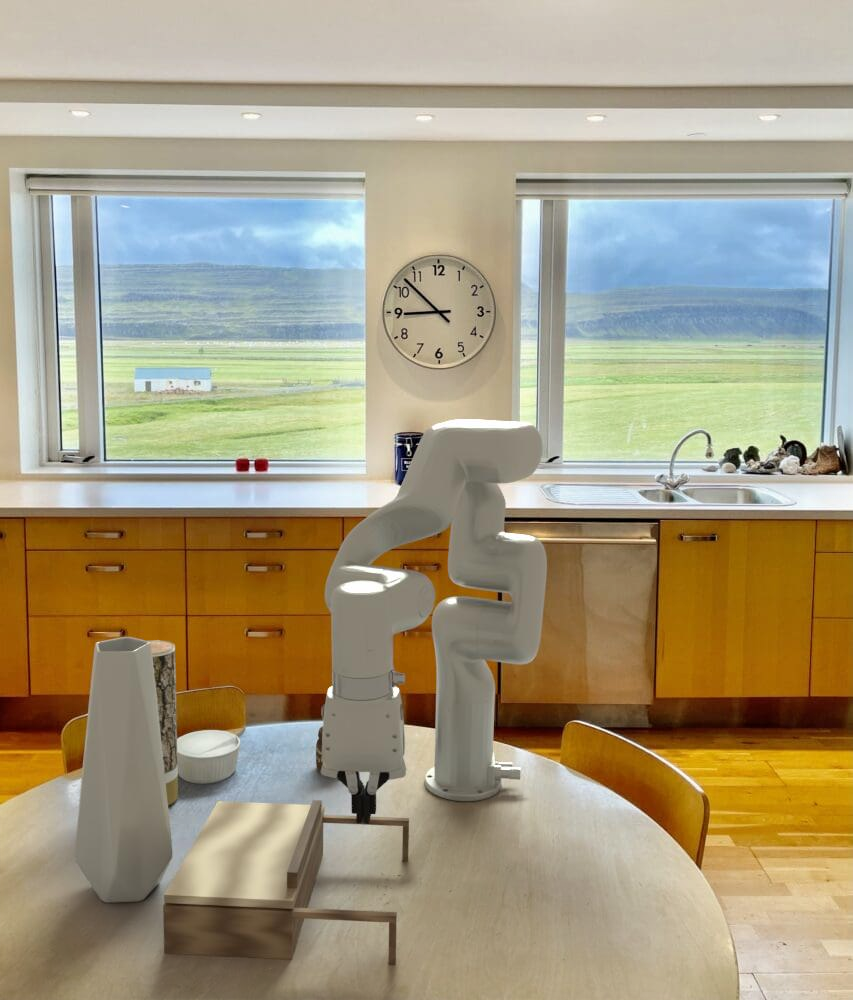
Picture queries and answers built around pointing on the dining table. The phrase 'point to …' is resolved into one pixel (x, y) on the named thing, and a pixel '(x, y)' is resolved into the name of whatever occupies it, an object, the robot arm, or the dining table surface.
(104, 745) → the vase
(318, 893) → the dining table surface
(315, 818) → the lid
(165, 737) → the paper tube
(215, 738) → the ramekin
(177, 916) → the wooden box
